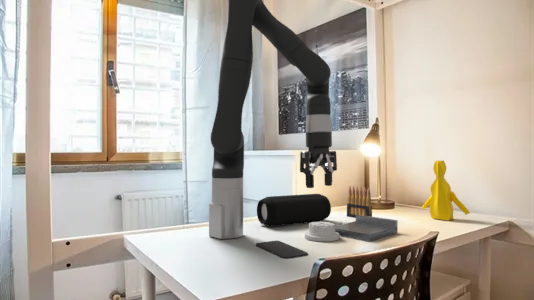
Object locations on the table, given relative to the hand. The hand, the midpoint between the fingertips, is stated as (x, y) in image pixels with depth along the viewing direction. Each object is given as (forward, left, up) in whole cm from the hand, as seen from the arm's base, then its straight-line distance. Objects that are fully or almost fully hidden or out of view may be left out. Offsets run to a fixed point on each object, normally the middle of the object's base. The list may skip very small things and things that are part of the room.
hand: (319, 186), depth 107 cm
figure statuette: (+57, -13, -15) cm, 60 cm away
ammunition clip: (+37, +10, -15) cm, 41 cm away
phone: (-18, -2, -15) cm, 24 cm away
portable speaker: (+11, +20, -15) cm, 27 cm away
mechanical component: (0, -1, -15) cm, 15 cm away
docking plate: (+14, -6, -15) cm, 21 cm away
